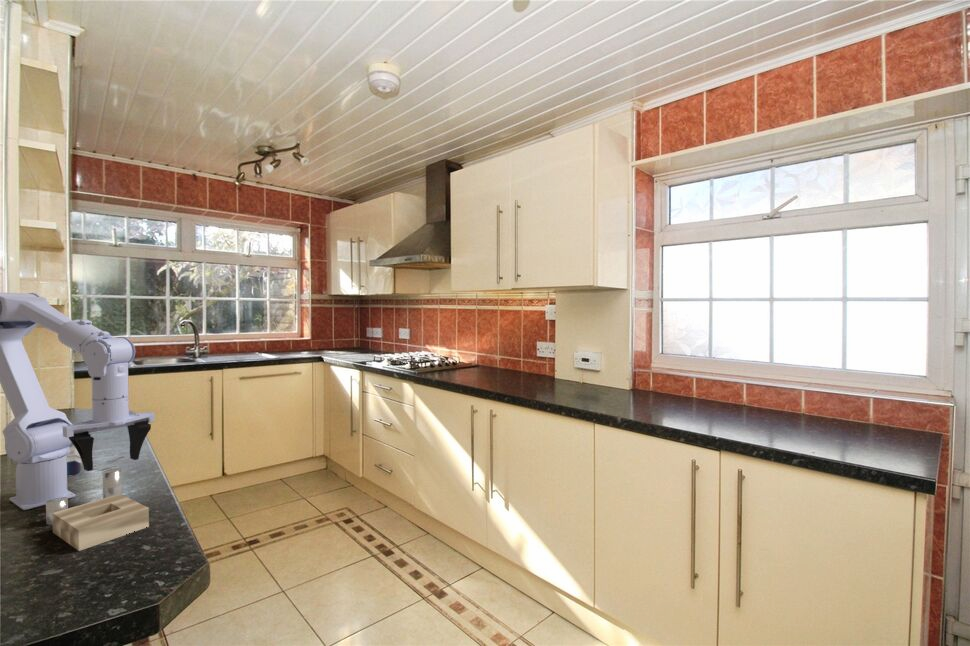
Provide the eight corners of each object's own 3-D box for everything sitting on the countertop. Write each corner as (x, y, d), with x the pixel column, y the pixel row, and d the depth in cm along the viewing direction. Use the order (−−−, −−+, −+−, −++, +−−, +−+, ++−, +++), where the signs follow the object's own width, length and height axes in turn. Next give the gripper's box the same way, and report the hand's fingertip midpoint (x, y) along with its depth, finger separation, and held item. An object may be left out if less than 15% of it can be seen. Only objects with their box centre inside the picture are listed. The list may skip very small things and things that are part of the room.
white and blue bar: (55, 463, 107) (59, 427, 125) (56, 489, 108) (60, 450, 126) (85, 458, 110) (85, 424, 129) (86, 484, 111) (85, 447, 130)
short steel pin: (43, 522, 85) (43, 501, 85) (65, 516, 88) (64, 495, 87) (49, 526, 83) (48, 505, 83) (70, 520, 86) (70, 499, 86)
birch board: (52, 532, 81) (52, 512, 81) (120, 511, 90) (120, 493, 90) (78, 551, 75) (78, 530, 75) (148, 526, 83) (148, 507, 83)
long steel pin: (100, 505, 92) (99, 471, 92) (118, 500, 95) (117, 467, 95) (106, 509, 91) (106, 474, 90) (124, 503, 93) (124, 469, 93)
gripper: (71, 406, 84) (73, 479, 84) (160, 393, 96) (161, 457, 97) (57, 402, 88) (59, 472, 88) (145, 390, 100) (146, 452, 100)
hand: (112, 464), depth 92 cm, fingers open, 7 cm apart
